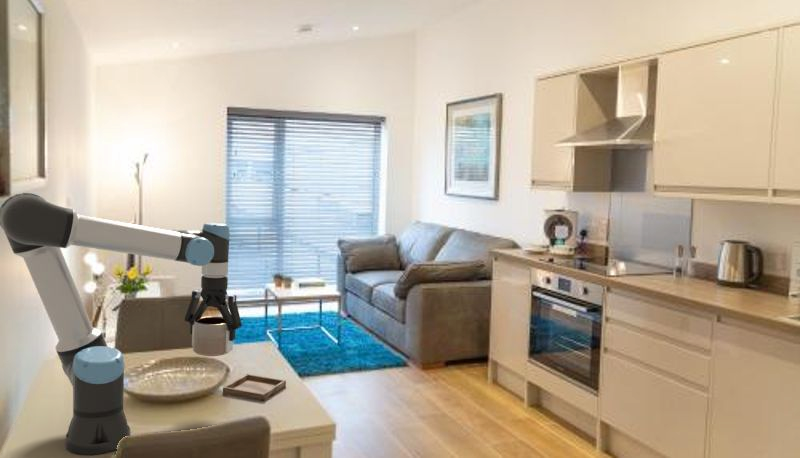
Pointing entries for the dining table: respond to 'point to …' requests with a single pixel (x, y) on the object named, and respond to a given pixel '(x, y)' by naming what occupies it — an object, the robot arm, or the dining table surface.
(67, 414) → the dining table surface
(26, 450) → the dining table surface
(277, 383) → the tray
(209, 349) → the planter
